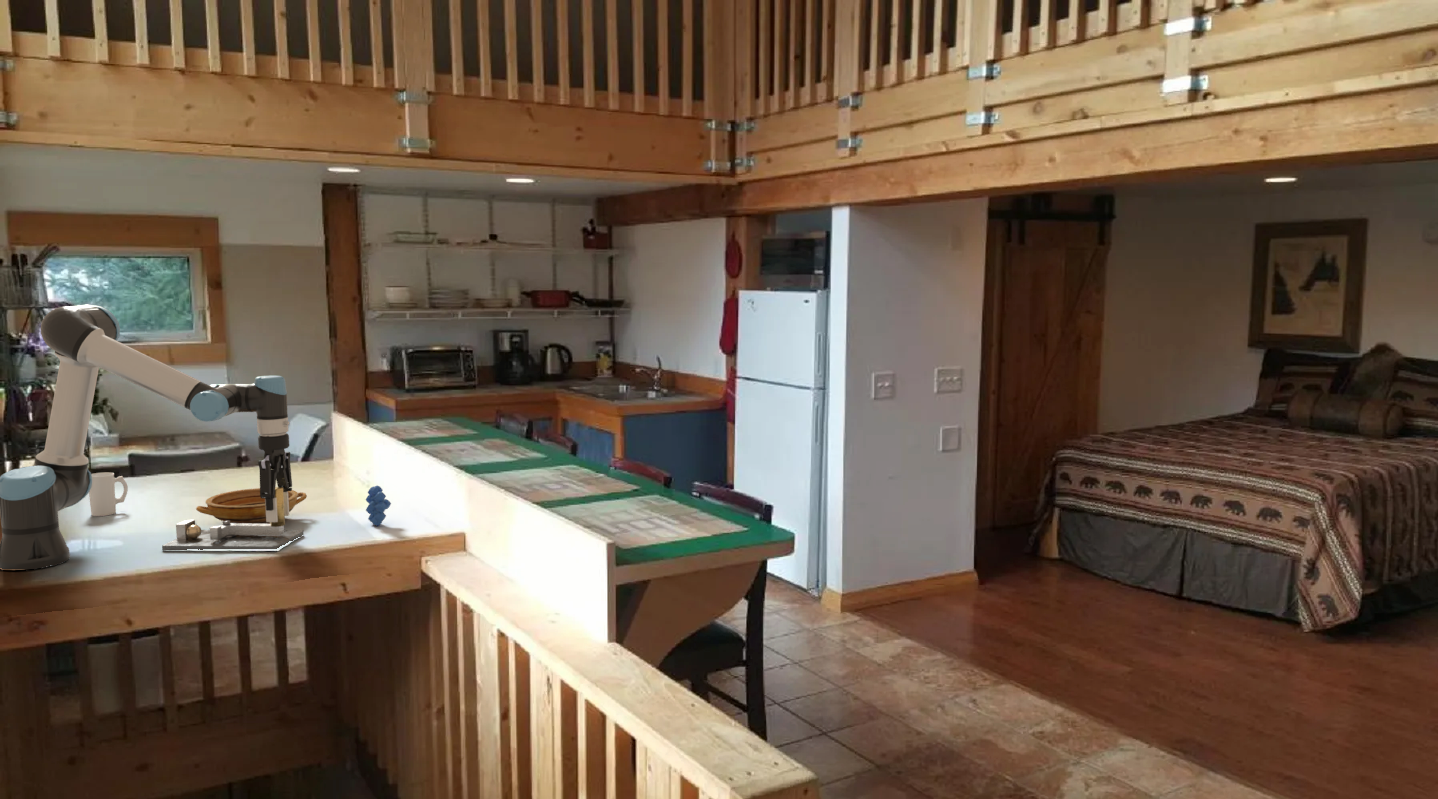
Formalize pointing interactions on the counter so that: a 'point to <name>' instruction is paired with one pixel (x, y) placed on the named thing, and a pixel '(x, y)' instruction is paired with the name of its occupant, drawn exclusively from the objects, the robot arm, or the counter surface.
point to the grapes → (377, 505)
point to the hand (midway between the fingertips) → (278, 518)
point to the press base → (225, 539)
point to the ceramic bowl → (243, 506)
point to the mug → (105, 494)
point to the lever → (252, 528)
